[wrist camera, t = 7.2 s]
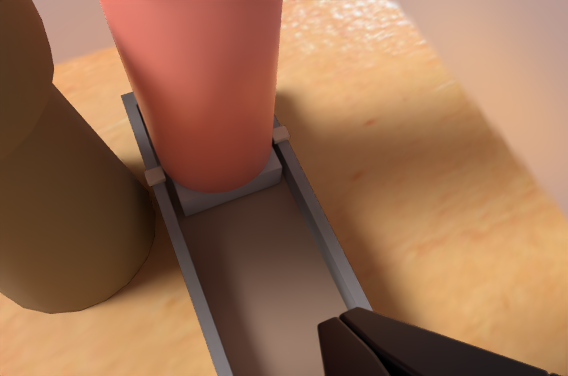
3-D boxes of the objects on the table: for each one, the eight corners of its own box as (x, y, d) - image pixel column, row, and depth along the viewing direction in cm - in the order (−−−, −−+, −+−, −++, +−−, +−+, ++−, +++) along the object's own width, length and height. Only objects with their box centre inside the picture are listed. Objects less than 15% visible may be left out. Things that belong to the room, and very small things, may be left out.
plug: (301, 191, 17) (385, -179, 6) (174, 238, 16) (15, -113, 5) (253, 91, 19) (254, -326, 8) (135, 127, 17) (-40, -300, 7)
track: (441, 488, 14) (475, 502, 12) (286, 577, 13) (293, 610, 11) (249, 92, 20) (249, 54, 18) (132, 128, 19) (116, 92, 17)
